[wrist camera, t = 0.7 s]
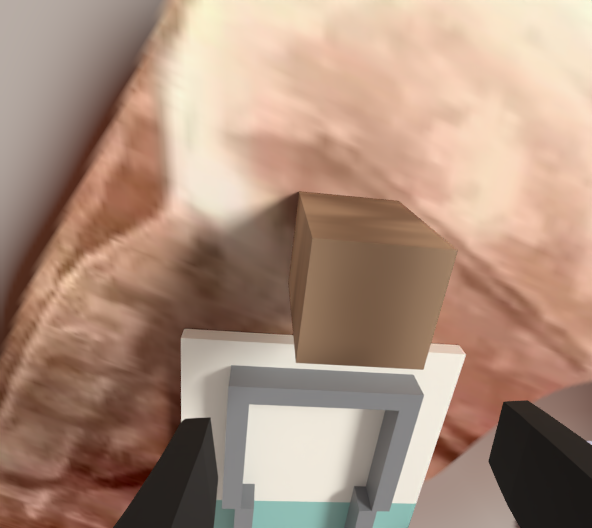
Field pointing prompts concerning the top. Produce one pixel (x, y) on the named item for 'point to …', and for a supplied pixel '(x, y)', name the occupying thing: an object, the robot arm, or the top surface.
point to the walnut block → (365, 282)
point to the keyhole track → (313, 431)
